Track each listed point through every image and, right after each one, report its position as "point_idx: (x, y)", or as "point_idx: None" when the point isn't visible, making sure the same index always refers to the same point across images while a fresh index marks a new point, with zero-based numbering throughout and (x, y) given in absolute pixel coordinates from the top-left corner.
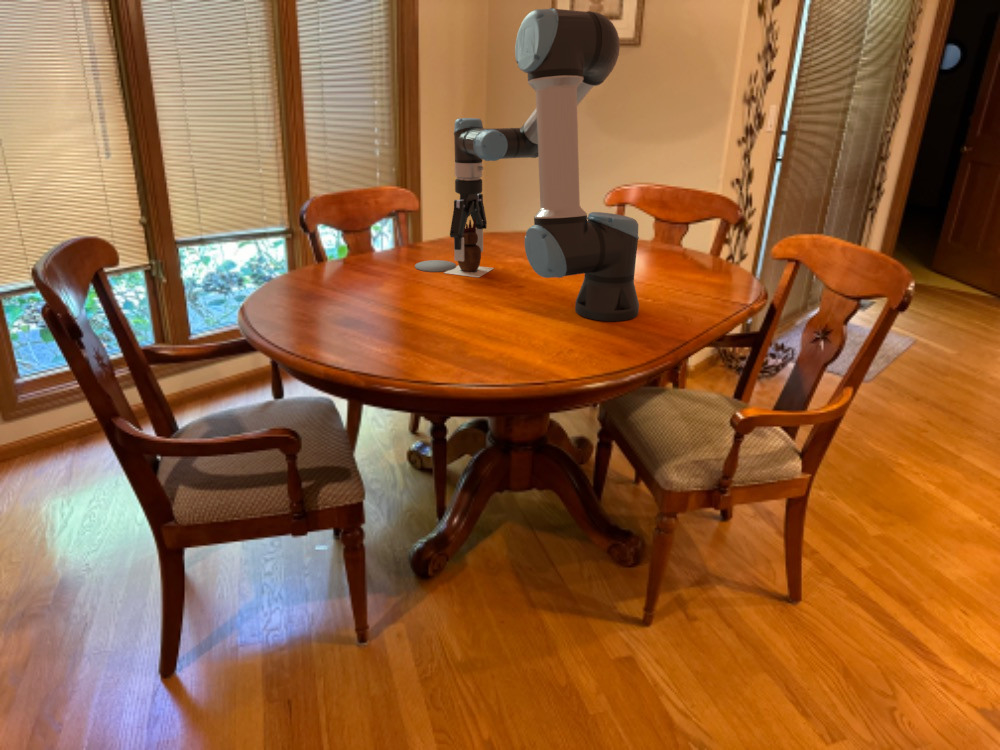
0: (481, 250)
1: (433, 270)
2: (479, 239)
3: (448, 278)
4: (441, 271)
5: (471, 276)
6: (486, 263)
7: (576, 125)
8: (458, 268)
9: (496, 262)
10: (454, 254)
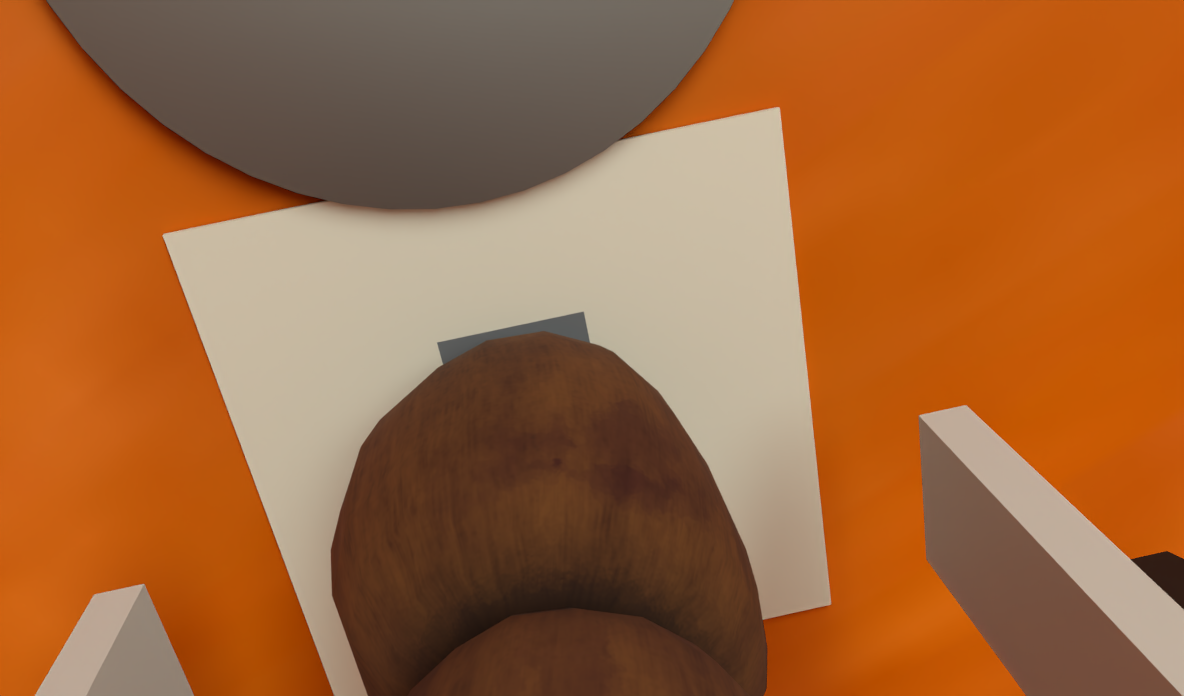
0: (937, 564)
1: (83, 47)
2: (1040, 672)
3: (10, 467)
4: (207, 147)
5: (311, 633)
6: (1025, 378)
7: None
8: (531, 256)
9: (1133, 447)
10: (50, 674)
